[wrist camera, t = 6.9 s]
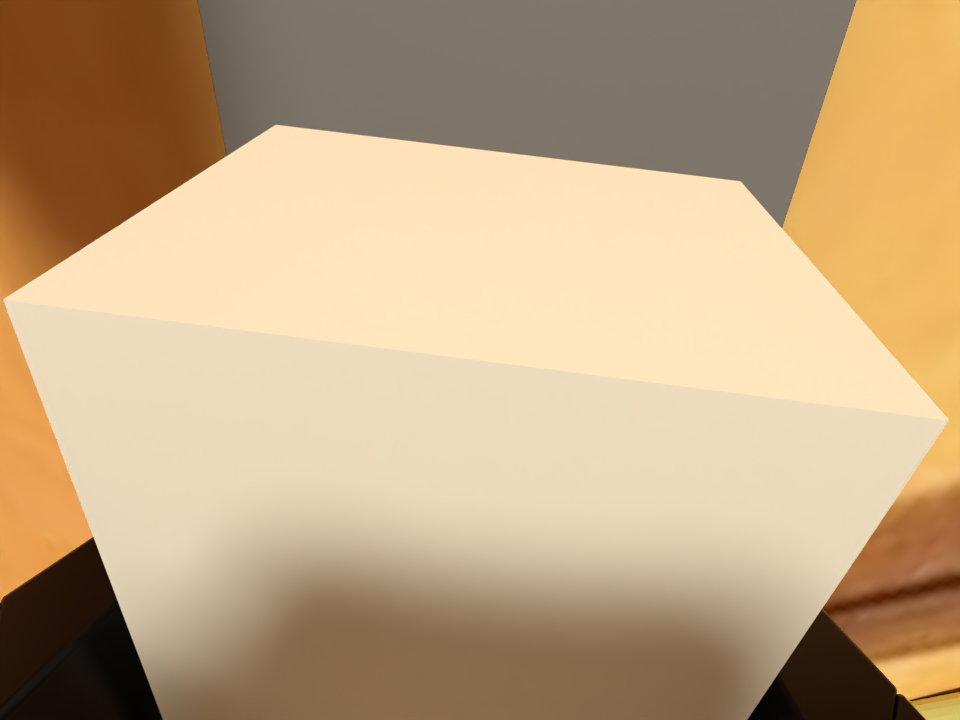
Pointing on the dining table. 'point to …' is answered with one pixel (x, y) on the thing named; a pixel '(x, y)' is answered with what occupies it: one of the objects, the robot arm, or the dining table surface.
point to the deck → (464, 434)
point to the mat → (541, 78)
